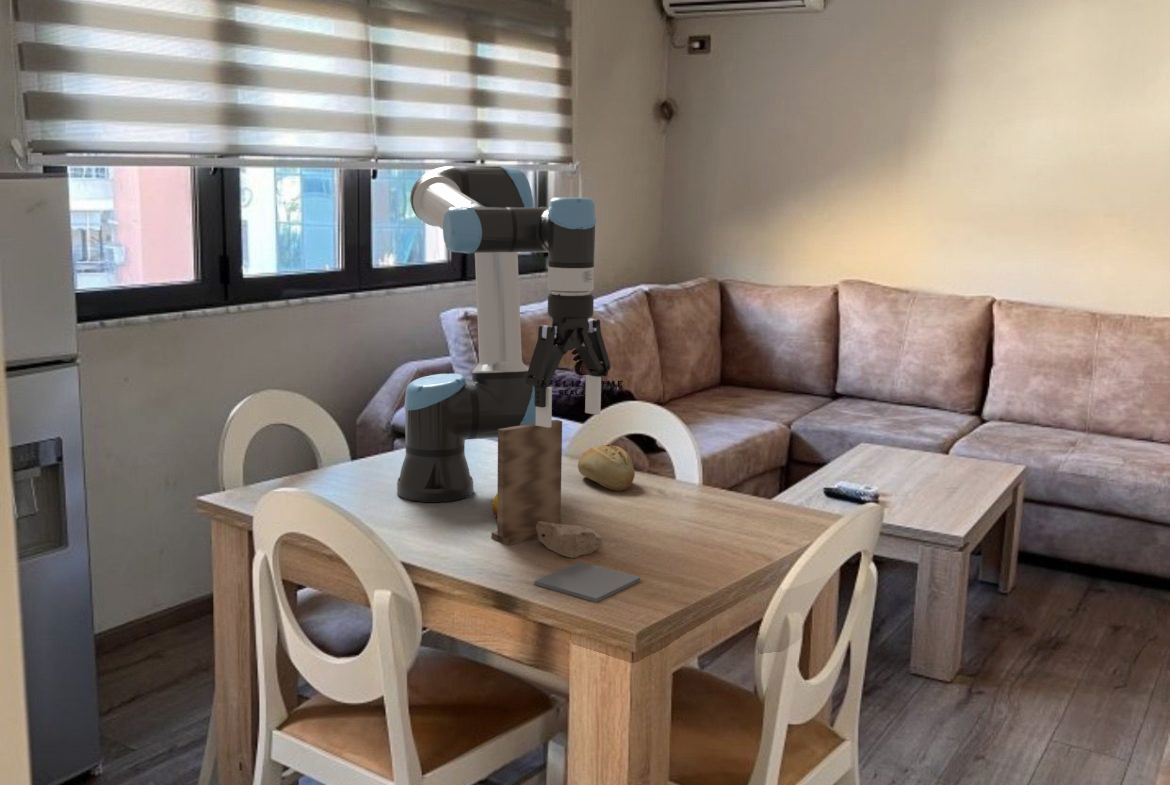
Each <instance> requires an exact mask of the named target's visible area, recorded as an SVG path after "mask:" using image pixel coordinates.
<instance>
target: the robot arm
mask: <svg viewBox="0 0 1170 785" xmlns="http://www.w3.org/2000/svg"><path fill="white" fill-rule="evenodd" d="M533 197H534V196H533V192H532V188H531V185H530V182H529V180H528V177H527V175H526V174H525V173H524V172H523V171H522V170H521V169H519V168H517V167H516V168H515V167H506V166H503V165H499V166H492V165H491V166H490V165H488V166H485V165H484V166H483V165H480V166H479V165H478V166H475V165H474V166H473V165H471V166H469V165H468V166H465V165H464V166H462V165H447V166H446V165H445V166H441V167H436V168H434V169H431V170H429V171H427V172H426V173H424V174H422V175H421V176H419V178H418V179H417V180H416V181H415V183H414V184H413V186H412V188H411V190H410V198H409V201H410V206H411V209H412V211H413V212H414V214H415V216H416V217H417V218H418V219H419V220H420V221H421V222H423V223H425V224H426V225H428V226H431V227H439V228H440V229H442V236H443V241H444V244H445V248H446V249H447V250H448V251H449V252H452V253H463V254H466V255H467V254H468V255H471V254H473V253H474V262H475V263H474V264H475V287H476V288H475V290H476V292H475V293H476V311H477V312H476V313H477V315H476V316H477V339H478V364H477V365H476V367H475V368H474V369H473V370H472V371H471V376H472V379H471V380H466V379H465V376H464V375H462V374H461V373H454V372H453V373H437V374H431V375H428V376H427V375H425V376H422V377H419V378H417V379H414V380H413V381H411V382H410V383H409V384H407V387H406V388H405V396H404V397H405V398H404V406H403V408H404V410H405V411H404V414H405V415H404V416H405V417H404V419H405V420H404V422H405V430H404V432H405V455H404V460H403V462H402V466H401V468H400V475H399V477H398V478H397V482H396V494H397V495H398V496H399V497H401V498H402V499H405V500H409V501H414V502H425V503H444V502H446V503H447V502H453V501H459V500H462V499H465V498H466V499H467V498H468V497H469V496H472V495H473V494H474V480H473V477H472V475H471V474H470V468H469V464H468V462H467V461H468V460H467V458H466V453H465V452H466V451H465V449H466V448H465V443H466V440H467V441H469V440H478V439H479V440H481V439H483V440H484V439H485V440H486V439H498V429H501V428H508V427H514V426H520V425H526V424H533V423H536V426H542V427H547V428H549V427H551V421H552V418H553V417H552V414H553V412H552V410H553V407H552V405H553V404H552V403H553V387H552V386H551V387H550V383H551V381H552V379H553V377H554V375H555V373H556V370H558V367H559V365H560V362H561V361H562V359H563V356H564V355H566V354H568V352H569V351H573V350H576V352H577V354H578V355H579V357H580V359H581V360H582V362H583V365H585V367H586V370H587V372H588V373H589V374H587V375H585V394H584V395H585V396H584V397H585V402H584V406H585V407H584V413H585V414H589V415H595V416H599V415H601V406H602V403H601V402H602V396H601V395H602V391H603V390H602V389H603V388H602V387H603V383H602V382H603V377H607V376H608V374H609V371H611V363H610V360H609V359H610V358H609V357H608V356H609V355H608V352H607V349H606V345H605V343H604V339H603V334H602V331H601V330H602V329H601V320H600V319H597V318H592V317H593V315H594V303H595V302H594V298H595V296H593V294H591V292H592V291H594V289H595V288H594V286H595V284H594V282H595V281H594V277H595V275H594V274H595V270H594V269H595V246H596V245H595V242H596V240H595V239H596V224H597V218H596V205H595V202H594V200H593V199H592V198H589V197H573V196H571V197H568V196H567V197H566V196H560V197H558V196H556V197H553V198H551V199H550V200H549V202H548V206H540V207H534V198H533ZM518 253H548V256H547V257H548V259H547V260H548V262H547V265H548V266H547V290H549V292H551V293H549V294H548V295H547V315H548V316H549V317H551V319H552V323H551V325H545V324H540V325H539V326H538V333H537V334H538V335H537V341H536V343H535V348H534V350H533V353H532V357H531V361H530V363H529V366H527V365H526V364H524V361H523V358H522V357H523V356H522V353H523V352H522V332H521V331H522V330H521V307H520V306H521V305H520V304H521V303H520V286H519V285H520V282H519V281H520V280H519V279H520V278H519V257H518V256H519V254H518Z"/></svg>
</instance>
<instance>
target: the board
mask: <svg viewBox="0 0 1170 785" xmlns="http://www.w3.org/2000/svg"><path fill="white" fill-rule="evenodd" d="M562 451H563V421H562V420H559V419H553V420H552V421H551V427H549V428H547V427H542V426H536V423H533V424H526V425H520V426H514V427H508V428H501V429H498V438H497V493H498V494H497V493H496V494H497V522H496V524H497V526H496V530H495V531H493V532H491V539H493V540H496V541H498V542H500V543H502V544H505V545H506V546H511V545H515V544H520V543H524V542H529V541H532V540H536V539H539V537H538V535H537V531H536V525H537V523H538V521H541V522H546V523H554V524H561V525H563V524H562V523H561V518H562V516H561V514H562V510H561V509H562V464H563V463H562V461H563V460H562V456H563V455H562Z"/></svg>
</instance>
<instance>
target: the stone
mask: <svg viewBox="0 0 1170 785" xmlns="http://www.w3.org/2000/svg"><path fill="white" fill-rule="evenodd" d="M561 524H562V523H560V524H554V523H546V522H541V521H538V523H537V525H536V531H537V535H538V537H539V538H538V540H539V542H540V543H542V544H543V545H544V546H545V547H546V548H547V549H548V550H550V551H552V552H555V553H556V554H559V555H560V556H564V557H566V558H572V559H575V558H579V557H580V556H582V555H583V556H585V555H589V554H591V553H593V552H595V551H597V549H599V547H600V546H601V544H602V541H603V540H602V539H603V538H602V535H599V534H597V533H596V531H594V530H593V529H591V527H590V528H589V527H585V526H582V525H579V524H578V525H570V524H569V525H567V524H562V525H561Z"/></svg>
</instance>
